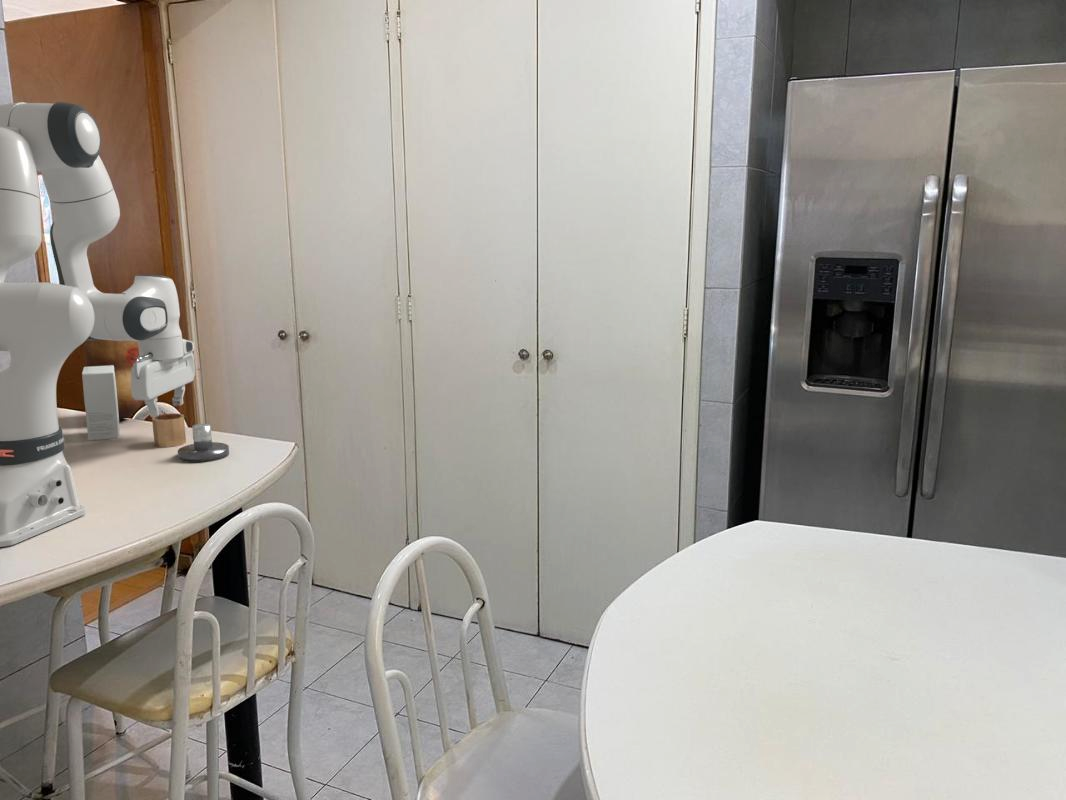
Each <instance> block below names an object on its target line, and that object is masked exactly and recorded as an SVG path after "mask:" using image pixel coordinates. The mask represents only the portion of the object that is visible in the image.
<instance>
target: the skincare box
mask: <svg viewBox="0 0 1066 800" xmlns="http://www.w3.org/2000/svg"><path fill="white" fill-rule="evenodd" d="M81 376H82V377H81V378H82V388H83V389H82V391H83V390H84V400H85V406H84V407H85V418H86V419H85V420H86V428H87V439H88V441H89V442H91V441H92V442H94V441H101V440H104V441H105V440H113V439H112V438H115V439H119V438H120V420H119V414H118V402H117V390H116V381H115V372H114V365H109V366H92V367H86V366H84V367H83V369H82V372H81Z"/></svg>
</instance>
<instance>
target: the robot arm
mask: <svg viewBox="0 0 1066 800" xmlns="http://www.w3.org/2000/svg"><path fill="white" fill-rule="evenodd" d="M101 149H102V136H101V131H100V129H99V125H98V123H97V120H96V119H95V118H94V116H93V115H92V114H91V113H90V112H89V111H87V109H85V108H84V107H83V106H81V105H79V104H75V103H71V102H62V101H57V102H55V103H50V102H49V103H48V102H43V103H42V102H28V103H27V102H22V101H21V102H11V103H4V104H0V352H5V351H6V352H9V353H10V354H9V355H10V362H9V366H8V368H7V369H6V368H5V369H4V370H2V371H0V548H1V547H3V548H4V547H9V546H13V545H16V544H18V543H20V542H23V541H26V540H28V539H29V538H32V537H34V536H38V535H40V534H42V533H44V532H47V531H50V530H52V529H54V528H56V527H59V526H61V525H64V524H65V523H68V522H70V521H73V520H75V519H78V518H80V517H82V516H85V515H86V510H85V507H84V506H83V505H82V504H80V502H79V498H78V494H77V488H76V484H75V480H74V476H73V472H72V469H71V466H70V465H69V463H68V462H67V459H66V458H65V455H64V452H63V451H64V449H65V448H66V447H65V436H64V434H63V429H62V428H61V427H60V425H59V419H58V418H59V416H58V406H57V384H58V378H59V375H60V371H61V370H62V367H63V365H64V363H65V362H66V361H67V359H68V358H69V356H70V355H71V354H72V353H73V352H74V351H75V350H76V349H77V348H79V347H80V346H81V345H82V344H84V342H85V341H93V340H114V341H138V348H139V357H137V358H136V361H135V363H134V365H133V367H132V370H131V394H132V397H133V398H134V399H135V400H144V401H143V402H144V404H145V405H146V407H147V408H148V411H149V412H148V413H149V416H150V417H151V418H152V417H158V416H159V415H161V414H162V412H161V411H162V410H161V407H159V406H158V403H157V402H158V397H159V396H162V395H164V394H166V393H169V392H172V391H173V390H174V393H173V397H172V398H171V401H172V405H173V406H174V407H181V406H182V405H183V404H184V396H185V392H186V385H187V384H190V383H192V382H193V381H194V379H195V376H196V366H195V365H196V364H195V355H194V353H193V351H195V344H194V341H192V340H188V339H184V338H183V334H182V333H183V332H182V330H181V327H180V316H181V312H180V303H179V302H180V301H179V297H178V295H179V294H178V291H177V288H176V284H175V283H174V280H173V279H172V278H170V277H169V276H166V275H160V274H144V273H143V274H138V275H135V276H134V280H133V284H132V285H131V286H129V288H127V289H126V290H125V291H122V292H121V293H105V292H102V291H100V290H98V288H97V287H96V286H95V284H94V280H93V277H92V273H91V268H90V267H91V266H90V263H89V258H88V249H89V246H90V244H92V243H95V242H96V241H97V242H98V240H101V239H103V238H105V236H108V234H110V233H111V232H112V231H113V230H114V229H115V228H116V226H117V224H118V222H119V220H120V218H121V217H120V216H121V209H120V204H119V200H118V198H117V195H116V192H115V189H114V187H113V184H112V180H111V178H110V175H109V173H108V171H107V168H106V167H105V165H104V162H103V160H102V159H101V157H100V155H99V154H100V152H101ZM37 171H38V172H40V173H41V178H42V180H43V185H44V187H45V191H46V194H47V196H48V199H49V201H50V204H51V208H52V212H53V222H52V224H51V225H50V227H49V229H50V230H49V239H50V240H49V241H50V245H51V251H52V255H53V258H54V263H55V267H56V271H57V275H58V279H59V283H53V282H47V281H46V282H44V281H43V282H5V280H6V276H7V274H8V272H9V271H10V270H11V268H13V266H15V265H16V264H18V263H19V262H21V261H22V262H23V261H24V260H26V259H27V260H28V258H30V257H32V256H33V255H34V254H35V253H36V252H37V251H38V250H39V249H40V247H41V244H42V241H43V239H42V218H41V217H42V216H41V215H42V212H41V196H40V185H39V177H38V172H37Z"/></svg>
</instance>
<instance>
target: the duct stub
mask: <svg viewBox="0 0 1066 800" xmlns="http://www.w3.org/2000/svg"><path fill="white" fill-rule="evenodd" d="M191 427H192V428H191V429H192V439H193V443H191V444H188V445H183V446H182V447H180V448H178V449H177V457H178V458H177V459H178V460H179V461H181V462H185V463H208V462H214V461H219V460H222V459H224V458H226V457H228V456H229V454H230V446H229V444H226V443H223V442H219V441H218V442H217V441H214V442H213V437H212V424H210V423H196V424H194V425H192V426H191Z"/></svg>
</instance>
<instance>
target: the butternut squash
mask: <svg viewBox="0 0 1066 800" xmlns="http://www.w3.org/2000/svg"><path fill="white" fill-rule="evenodd" d="M82 344H83V349H82V350H83V356H84V361H85V367H92V366H109V365H114V372H115V381H116V390H117V402H118V414H119V421H120V420H125V419H128V418H129V417H130V416H131V415H133V414H134V413H135V412H136V411H137V410H138V409H139V408H140V407H141V406H142V405H143V403H144V402H145V401H144V400H135V399H134V398H133V397H132V394H131V370H132V367H133V365H134V363H135V361H136V358H137V357H139V348H138V341H114V340H93V341H85V342H84V343H82ZM82 400H83V405H84V407H85V400H84V390H83V389H82Z"/></svg>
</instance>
